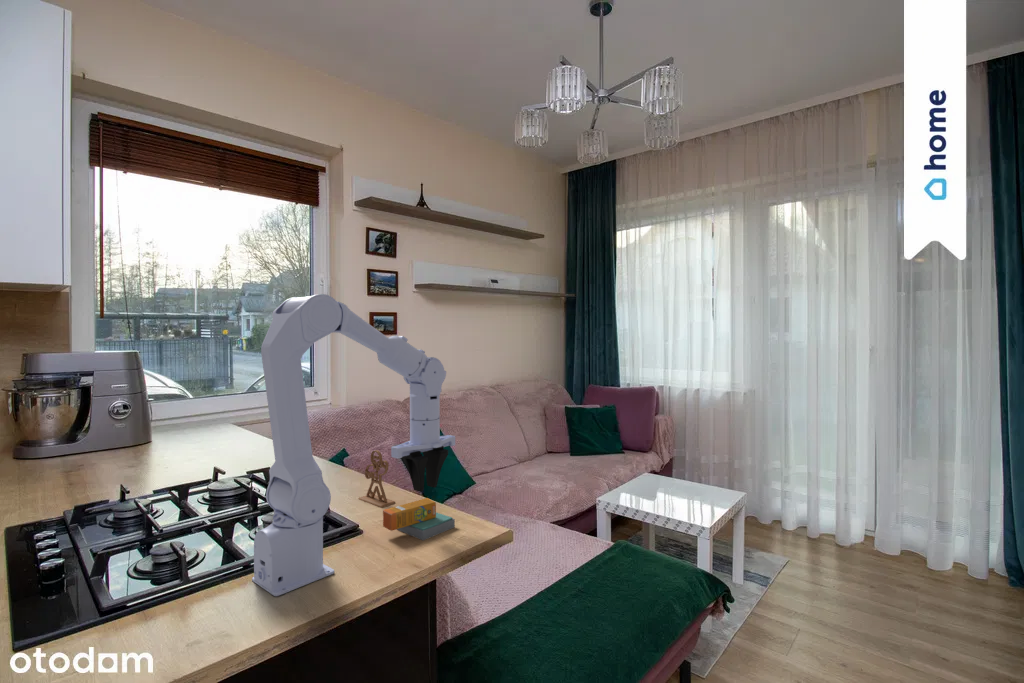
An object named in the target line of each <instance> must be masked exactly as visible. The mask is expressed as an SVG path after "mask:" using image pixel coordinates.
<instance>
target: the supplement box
mask: <svg viewBox="0 0 1024 683" xmlns="http://www.w3.org/2000/svg"><path fill="white" fill-rule="evenodd" d="M436 512H437V502H436V501H434V500H432V499H430V498H428V497H426V498H422V499H418V500H415V501H411V502H407V503H403V504H400V505H397V506H392V507H388V508H385V509H383V510H382V518H383V520H382V527H384V528H385V529H386V530H388V531H392V532H393V531H395V530H397V529H399V528H403V527H406V526H410V525H413V524H416V523H419V522H423V521H426V520H429V519H433V518H436Z"/></svg>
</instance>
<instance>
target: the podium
mask: <svg viewBox="0 0 1024 683" xmlns="http://www.w3.org/2000/svg"><path fill="white" fill-rule="evenodd" d="M455 521H456V520H455V518H453V517H451V516H448V515H446V514H443V513H440V512H437V511H436V518H433V519H429V520H426V521H423V522H419V523H416V524H413V525H410V526H406V527H403V528H399V529H396V530H397V531H399V532H402V533H404V534H406V535H409V536H412V537H414V538H417V539H419V540H421V541H425V540H427V539H430V538H432V537H435V536H437V535H439V534H442V533H444V532H446V531H450V530H451V529H454V528H455V527H456V525H455V524H456V523H455Z"/></svg>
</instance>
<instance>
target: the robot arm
mask: <svg viewBox="0 0 1024 683" xmlns="http://www.w3.org/2000/svg"><path fill="white" fill-rule="evenodd" d="M334 333H335V334H336V333H337V334H338V333H339V334H341V335H343V336H345V337H346V338H348V339H350V340H352V341H355V342H356V343H358V344H360V345H362V346H363V347H365V348H366V349H367V348H368V349H369V350H370V351H373V352H375V353H376V355H377V359H378V362H379V363H380V364H382V365H384V366H385V367H387V368H389V370H392V371H393V372H395V373H397V374H399V375H401V376H402V377H403V379H404V381H405V383H406V384H408V385H409V440H407V441H405V442H403V443H400V444H397V445H394V446H391V453H390V455H391V458H393V459H401V460H402V461H403V463H404V465H405V467H406V469H407V471H408V474H409V476H410V480H411V484H412V488H413V491H416V492H418V493H421V492H424V488H425V478H426V486H427V487H431V488H437V486H438V482H439V477H440V474H441V470H442V467H443V465H444V463H445V461H446V460H447V457H448V455H449V450H448V449H446V448H445V447H449V446H450V447H454V446H456V436H455V435H451V434H447V435H441V433H440V430H441V426H440V425H441V422H440V421H441V419H440V418H441V416H440V414H441V412H440V411H441V407H440V406H441V404H440V403H441V401H440V400H441V398H440V395H441V393H442V387H443V383H444V382H445V379H446V377H447V371H446V370H445V367H444V365H443V363H442V362H441V360H440V359H439V358H437V357H434V356H427V355H426V354H425V353H426V351H425V350H423V349H422V348H421V349H418V348H416V347H415V346H413V345H411V344H410V343H409V342H408V340H409V339H408V338H407V337H405V336H404V335H398V336H397V335H392V336H389V337H388V336H386V335H385V334H384V333H382V332H381V331H380V330H378V329H377V328H376V327H374V326H372V325H371V324H370V323H368V321H366V320H364V319H363V318H362V317H361V316H359V315H358V314H356V313H355V312H353V311H352V310H351V309H350V308H349V306H348V305H346V304H345V303H343V302H340V301H337V300H336V298H334V297H333V296H331V295H329V294H325V293H317V294H313V295H310V296H309V295H308V296H301V297H299V296H293V297H290V298H287V299H285V300H284V301H283V302H282V303H281V304H280V305H279V306H277V307H276V308H274V310H273V311H272V321H271V323H270V324H269V327H268V329H267V332H266V335H265V336H264V339H263V341H262V343H261V348H260V352H261V353H260V354H261V361H262V369H263V377H264V383H265V384H264V386H265V391H266V392H265V393H266V399H267V401H266V402H267V408H268V409H267V410H268V416H269V423H270V429H271V430H270V431H271V438H272V446H273V454H274V460H275V461H274V462H273V463H272V465H271V467H270V468H269V470H268V473H269V482H268V484H267V485H268V486H267V488H266V491H265V498H266V502H267V504H268V506H270V508H271V509H273V516H272V523H270V525H268V526H266V527H264V528H262V529H260V530H258V531H256V532H255V534H254V539H253V576H252V578H251V581H252V582H253V583H255V584H257V586H259V587H261V588H262V589H263V590H265V591H266V592H267V593H269V594H270V595H272V596H274V597H279V596H282V595H284V594H286V593H289V592H291V591H294V590H296V589H298V588H301V587H304V586H307V585H308V584H311V583H314V582H316V581H318V580H321V579H324V578H326V577H328V576H332V575H333V574H335V569H334V568H332V567H330V566H328V565H326V564H325V563H324V529H323V528H324V522H323V521H324V515H325V514H326V513H327V512H328V510H329V508H330V505H331V501H332V500H331V499H332V495H331V491H330V488H329V487H328V486H327V484H326V483H325V481H324V477H323V472H322V470H321V468H320V466H319V464H318V462H317V461H316V460H315V458H314V456H313V449H312V440H311V433H310V432H311V431H310V425H309V424H310V423H309V416H308V410H307V408H308V406H307V400H306V399H307V398H306V393H305V390H306V389H305V384H304V375H303V366H302V360H301V359H302V357H303V355H304V354H306V352H307V351H308V350H309V349H310V348H311V347H312V346H313V345H314V344H315V342H318V341H319V340H322V339H323V338H325V337H326V336H328V335H330V334H334Z"/></svg>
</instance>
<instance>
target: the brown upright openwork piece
mask: <svg viewBox="0 0 1024 683" xmlns="http://www.w3.org/2000/svg"><path fill="white" fill-rule="evenodd" d="M375 453H377V455H378V456H377V455H374V454H375ZM377 460H378V461H377ZM370 463H371V464H368V465H366V467H365V470H364V477H365V479H367V480H369V479H371V480H370V481H371V482H370V484H369V487H368V490H367V493H366V495H364V496H360V497H358V500H360V501H362V502H364V503H367V504H369V505H372V506H374V507H378V508H380V509H383V508H386V507H389V506H392V505H395V504H396V501H395V500H392V499H388V498H387V495H386V493H385V490H384V489H385V488H384V486H383V483H382V482H383V481H382V480H383V479H382V476H385V475H386V474H387V473H388V471H389V466H390V465H389V462H388V461H387V460H383V455H382V453H381V451H380V450H378V449H377V450H373V451H371V453H370ZM370 467H372V469H373V471H369V468H370ZM381 468H383V469H384V472H382V473H379V471H380V470H381ZM374 484H377V485H375V487H374V489H373V486H374ZM378 485H379V486H378ZM372 489H373V490H372Z"/></svg>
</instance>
